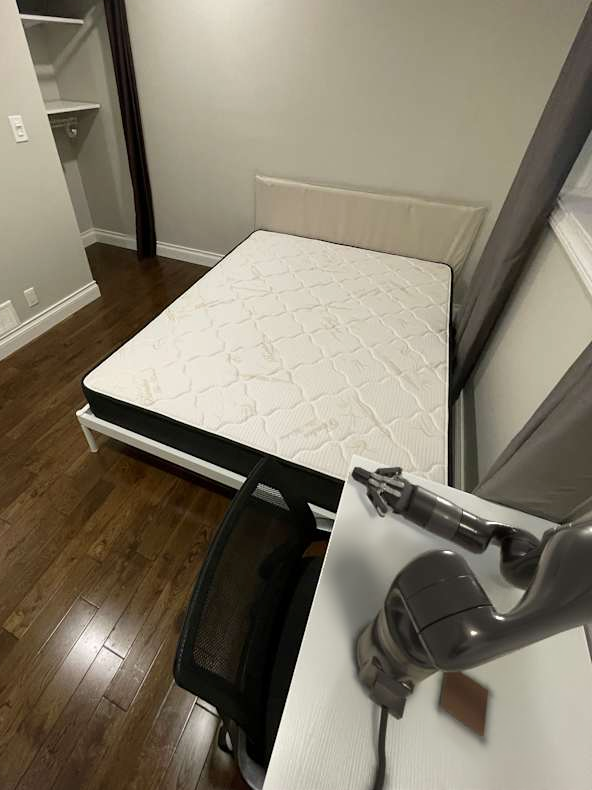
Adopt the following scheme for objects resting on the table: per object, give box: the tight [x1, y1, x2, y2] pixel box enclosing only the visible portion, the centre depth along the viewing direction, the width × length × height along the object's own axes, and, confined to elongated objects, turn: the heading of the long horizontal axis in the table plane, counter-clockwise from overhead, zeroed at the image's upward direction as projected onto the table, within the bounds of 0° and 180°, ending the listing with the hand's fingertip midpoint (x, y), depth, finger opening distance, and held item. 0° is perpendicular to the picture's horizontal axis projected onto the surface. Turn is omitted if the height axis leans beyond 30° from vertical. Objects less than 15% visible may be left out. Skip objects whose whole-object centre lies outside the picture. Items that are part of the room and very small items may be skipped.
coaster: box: [439, 671, 489, 737], centre depth 58 cm, size 6×6×1 cm
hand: (352, 471), depth 83 cm, fingers closed
